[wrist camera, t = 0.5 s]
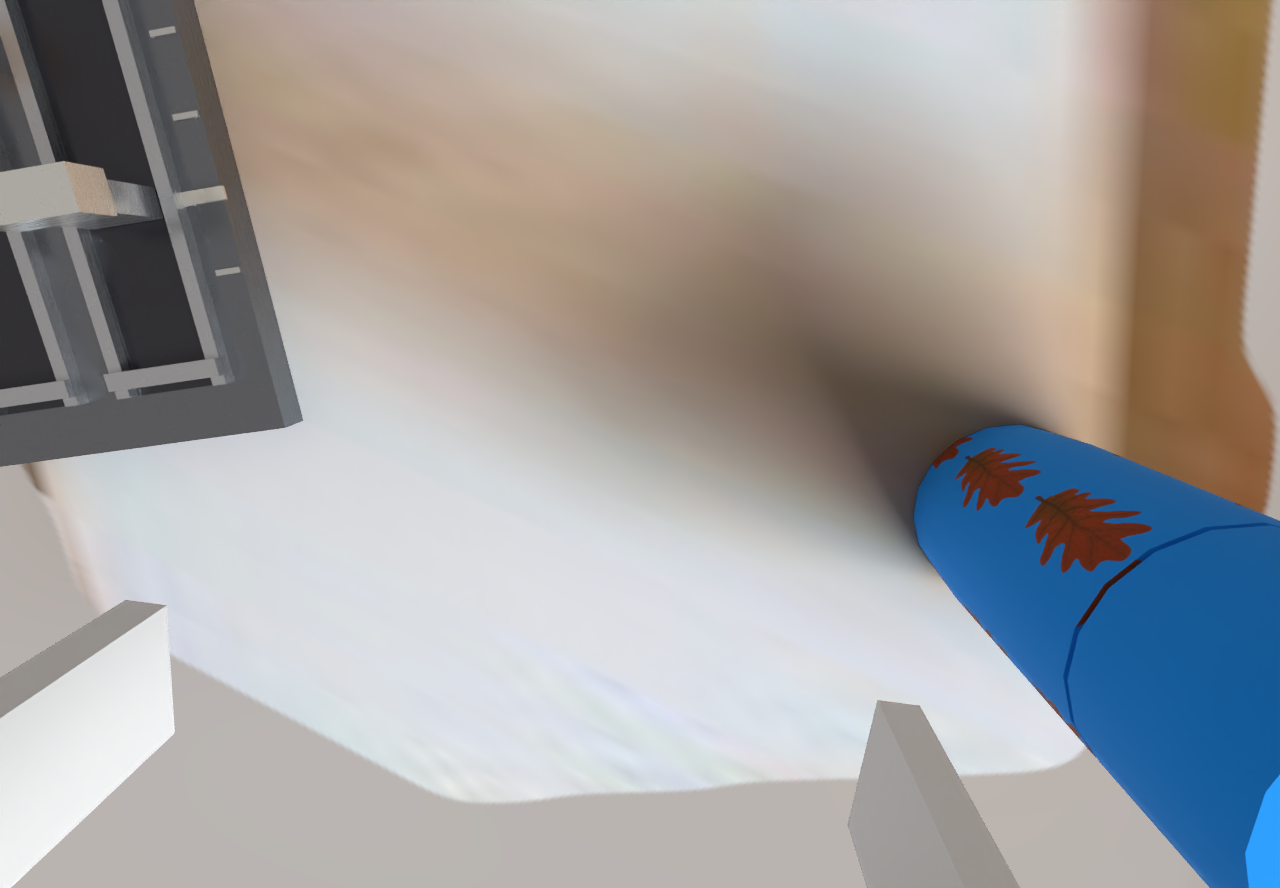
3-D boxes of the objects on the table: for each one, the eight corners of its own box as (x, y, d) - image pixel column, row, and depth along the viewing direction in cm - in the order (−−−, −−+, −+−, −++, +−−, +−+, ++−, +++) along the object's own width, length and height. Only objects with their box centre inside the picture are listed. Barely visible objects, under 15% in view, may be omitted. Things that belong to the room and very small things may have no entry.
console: (-199, -77, 37) (-280, -109, 34) (157, -152, 35) (107, -193, 32) (-1, 462, 44) (-53, 476, 41) (306, 420, 42) (276, 431, 39)
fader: (73, 195, 37) (-42, 179, 31) (163, 179, 37) (63, 161, 31) (86, 237, 38) (-25, 229, 32) (175, 222, 38) (79, 212, 31)
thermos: (1017, 382, 40) (1563, 552, 15) (1135, 508, 41) (1807, 848, 17) (872, 511, 42) (1147, 838, 17) (989, 626, 43) (1393, 1078, 19)
